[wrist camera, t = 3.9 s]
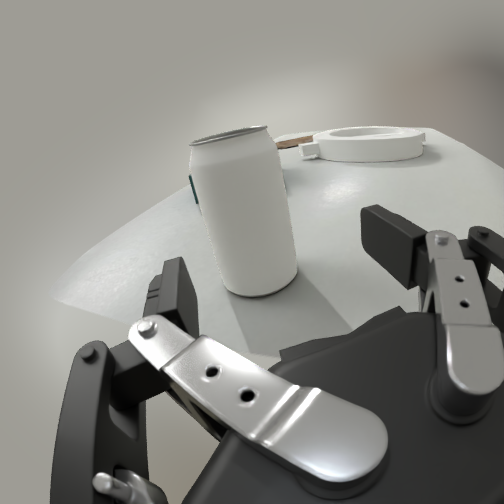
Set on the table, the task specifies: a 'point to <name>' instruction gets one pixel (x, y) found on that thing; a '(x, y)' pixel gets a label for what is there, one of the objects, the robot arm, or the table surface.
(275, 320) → the table surface
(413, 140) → the ring with crossbar
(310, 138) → the fish fossil
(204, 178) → the can
